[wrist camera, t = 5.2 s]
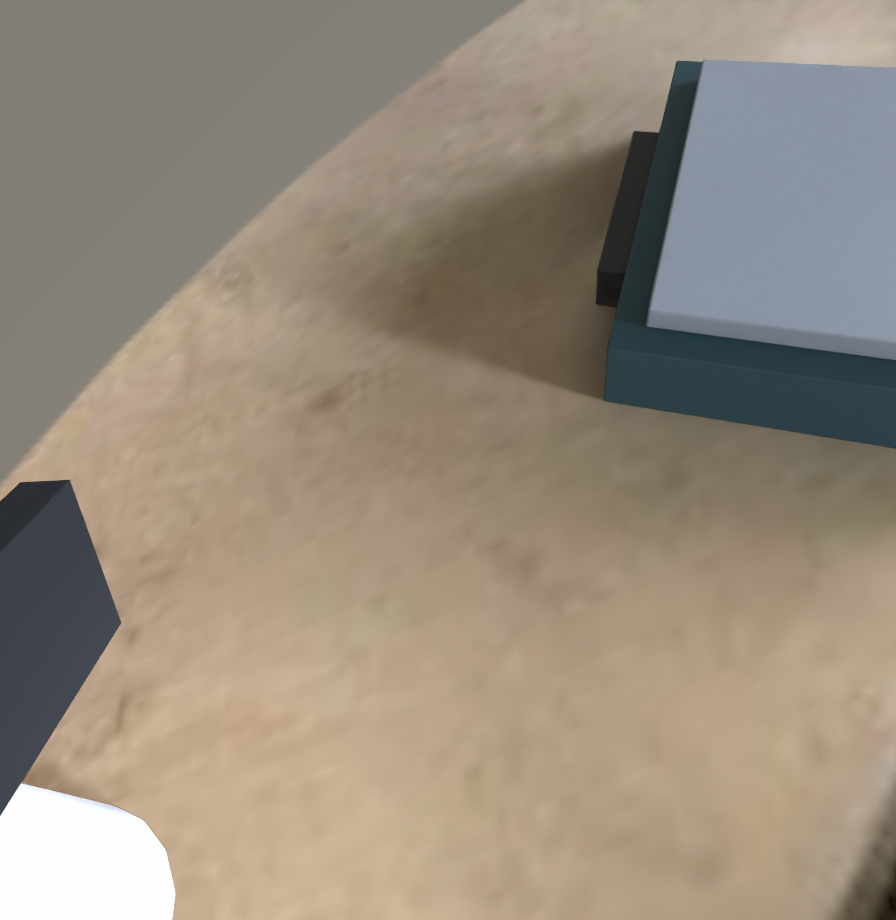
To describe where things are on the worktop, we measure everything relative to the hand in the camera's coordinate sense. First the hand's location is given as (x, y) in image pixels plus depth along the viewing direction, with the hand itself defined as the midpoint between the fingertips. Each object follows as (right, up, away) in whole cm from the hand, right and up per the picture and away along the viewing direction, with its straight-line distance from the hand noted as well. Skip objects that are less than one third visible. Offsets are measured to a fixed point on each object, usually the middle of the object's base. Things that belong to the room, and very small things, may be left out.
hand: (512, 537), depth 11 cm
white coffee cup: (-11, -11, +9) cm, 19 cm away
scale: (+13, +8, +16) cm, 22 cm away
